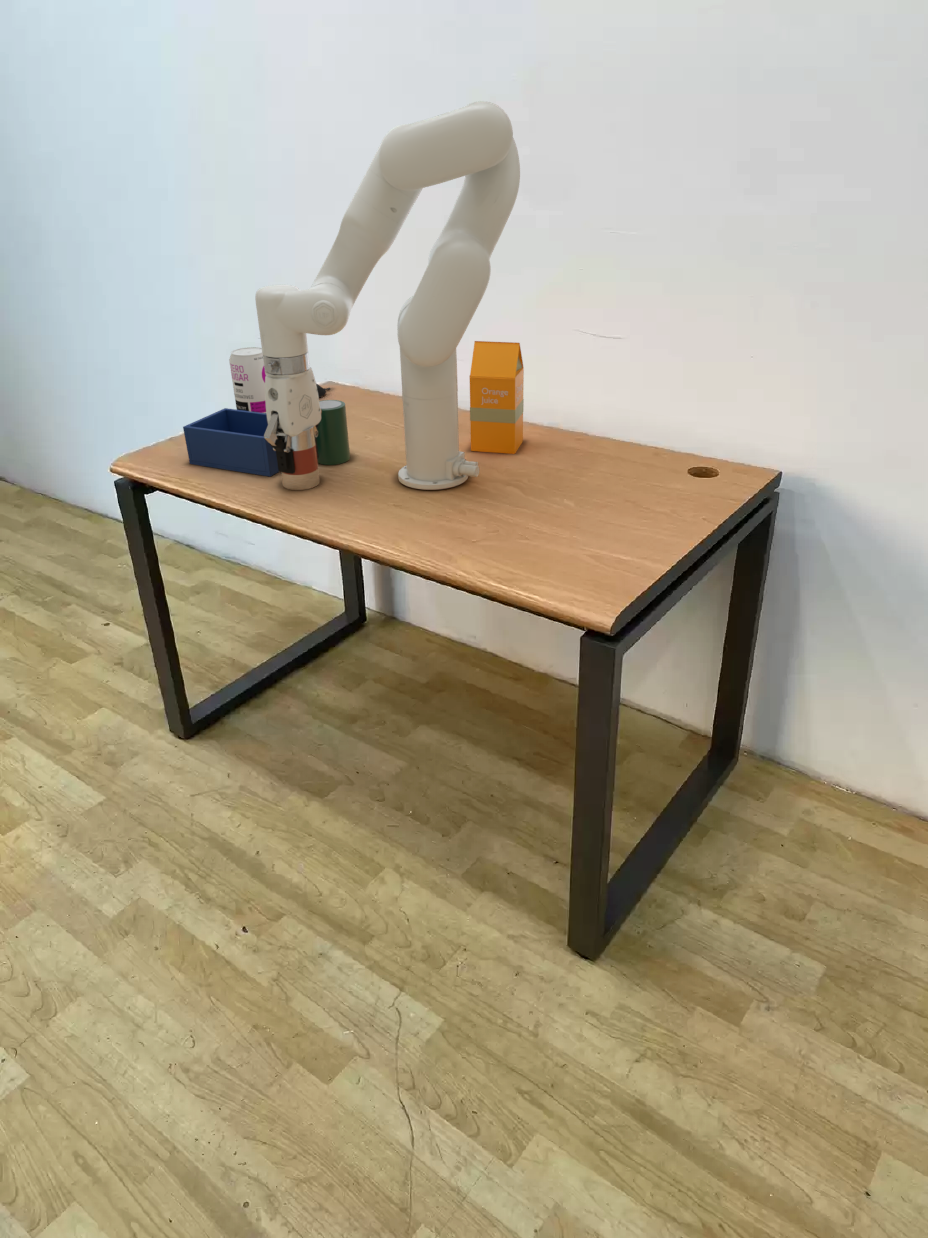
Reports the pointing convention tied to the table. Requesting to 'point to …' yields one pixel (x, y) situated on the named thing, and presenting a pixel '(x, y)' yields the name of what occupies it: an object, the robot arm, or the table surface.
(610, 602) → the table surface
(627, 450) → the table surface
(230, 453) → the blue storage box
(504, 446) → the orange juice
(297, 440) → the silver can
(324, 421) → the green can
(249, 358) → the supplement can
